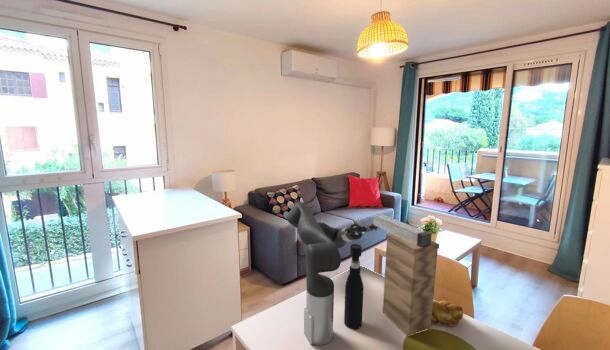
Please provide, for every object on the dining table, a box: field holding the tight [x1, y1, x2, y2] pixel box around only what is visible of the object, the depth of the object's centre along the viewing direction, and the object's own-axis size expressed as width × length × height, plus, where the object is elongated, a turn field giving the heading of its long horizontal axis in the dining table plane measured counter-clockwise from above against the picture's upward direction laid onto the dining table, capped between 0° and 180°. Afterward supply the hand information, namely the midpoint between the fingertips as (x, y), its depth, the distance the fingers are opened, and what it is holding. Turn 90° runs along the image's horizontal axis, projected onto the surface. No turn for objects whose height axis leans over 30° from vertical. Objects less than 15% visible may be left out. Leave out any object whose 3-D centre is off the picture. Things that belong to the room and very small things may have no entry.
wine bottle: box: [343, 243, 364, 330], centre depth 102 cm, size 6×6×30 cm
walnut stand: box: [382, 233, 440, 337], centre depth 103 cm, size 11×14×32 cm
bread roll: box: [431, 299, 464, 327], centre depth 106 cm, size 13×10×8 cm
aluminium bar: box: [373, 213, 433, 247], centre depth 105 cm, size 4×24×4 cm, turn 27°
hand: (369, 226), depth 124 cm, fingers open, 8 cm apart
